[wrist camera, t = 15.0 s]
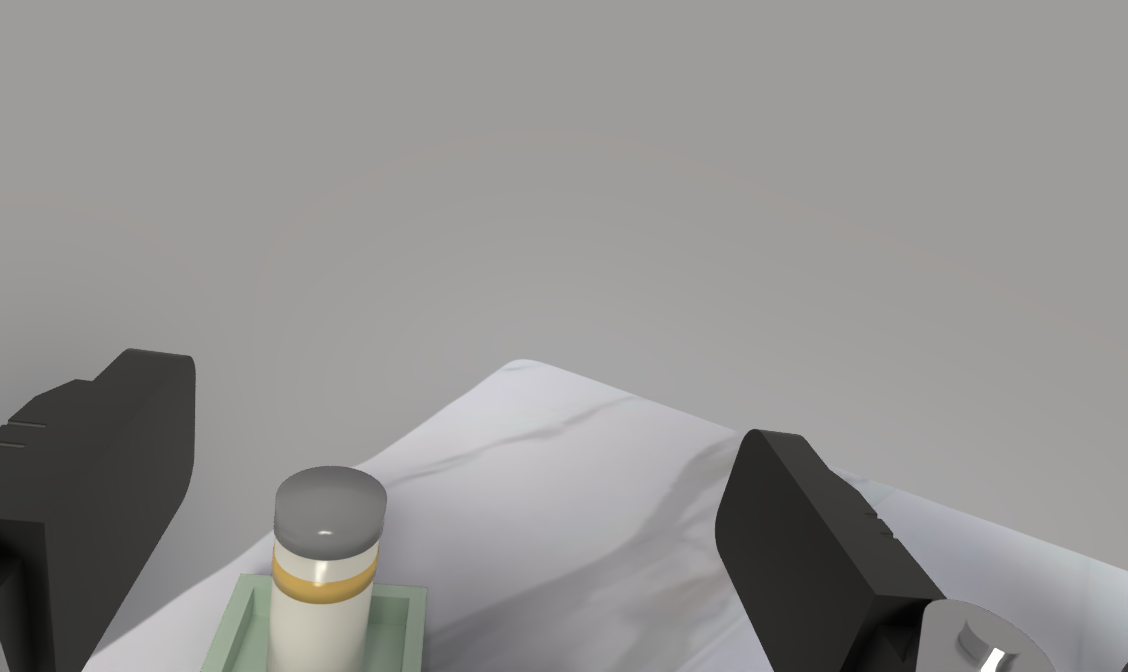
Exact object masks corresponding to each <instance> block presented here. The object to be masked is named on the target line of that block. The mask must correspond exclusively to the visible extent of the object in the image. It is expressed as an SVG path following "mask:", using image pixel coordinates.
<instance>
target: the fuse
mask: <svg viewBox="0 0 1128 672" xmlns="http://www.w3.org/2000/svg"><path fill="white" fill-rule="evenodd" d="M386 503H387V495H386V491H385V489H384V487H383V486H382V485H381V483H380V482H379V481H378V480H376V479H375V478H374V477H372V476H371V475H369V474H367V473H365V472H362V471H359V470H356V469H352V468H348V467H340V466H323V467H315V468H310V469H307V470H304V471H301V472H298V473H296V474H294V475H292V476H290V477H289V478H288V479H286V480H285V481H284V482H283V483H282V484H281V485H280V487H279V489H278V491H277V493H276V502H275V516H274V534H275V543H274V547H273V560H272V590H271V604H270V618H269V631H268V645H267V659H266V672H361V667H362V660H363V652H364V645H365V638H366V631H367V624H368V616H369V609H370V602H371V595H372V588H373V580H374V576H375V573H376V567H377V559H378V552H379V545H378V544H379V538H380V536H381V534H382V531H383V524H384V517H385V510H386Z"/></svg>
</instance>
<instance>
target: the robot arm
mask: <svg viewBox="0 0 1128 672" xmlns="http://www.w3.org/2000/svg"><path fill="white" fill-rule="evenodd" d="M195 375H196V373H195V364H194V361H193V359H192V357H190V356H186V355H179V354H171V353H163V352H155V351H147V350H139V349H127V350H125V351H124V352H122V354H120V355H119V356H118V357H117V358H116V359H115V360H114V361H113V362H112V363H111V364H110V365H109V366H108V367H107V368H106V369H105V370H104V371H103V372H102V373H101V374H100V375H99V376H97V377H96V378H95V380H93V381H86V380H77V379H75V380H73V381H70V382H68V383H66V384H63V385H61V386H59V387H56V388H54V389H52V390H49V391H47V392H45V393H42V394H40V395H38V396H35V397H34V398H33V399H32V400H31V401H29V402H28V403H27V404H26V405H25V406H24V407H23V408H21V409H20V410H19V411H18V412H17V413H16V414H15V415H13V416H12V417H11V418H10V419H9V420H8V424H7V425H2V426H1V427H0V672H81V671H82V670H83V668H84V666H85V665H86V663H87V661H88V660H89V658H90V656H91V655H92V653H93V651H94V650H95V648H96V646H97V644H98V643H99V641H100V639H101V638H102V636H103V634H104V633H105V631H106V629H107V628H108V626H109V624H110V623H111V621H112V619H113V618H114V616H115V614H116V613H117V611H118V609H119V608H120V606H121V604H122V602H123V601H124V599H125V597H126V595H127V594H128V592H129V591H130V589H131V587H132V586H133V584H134V582H135V581H136V579H137V577H138V576H139V574H140V572H141V570H142V569H143V567H144V565H145V564H146V562H147V561H148V559H149V557H150V555H151V554H152V552H153V550H154V549H155V547H156V545H157V544H158V542H159V540H160V539H161V537H162V535H163V534H164V532H165V530H166V529H167V527H168V525H169V524H170V522H171V520H172V518H173V517H174V515H175V514H176V512H177V510H178V508H179V507H180V505H181V503H182V501H183V499H184V497H185V495H186V492H187V490H188V486H189V483H190V479H191V475H192V470H193V464H194V441H195V381H196V376H195ZM877 515H878V514H877V513H876V512H875V511H874V509H873V508H872V507H871V506H870V505H869V503H868V502H867V501H866V500H865V499H864V497H863V496H862V495H861V494H860V492H859V491H858V490H856V489H855V488H854V487H852V486H851V485H850V484H848V483H847V482H846V481H844V480H843V479H842V478H840V477H839V476H838V475H836V474H835V473H834V472H832V471H831V470H829V468H828V467H827V466H826V465H825V463H824V462H823V461H822V460H821V459H820V457H819V456H818V455H817V453H816V452H815V451H814V450H813V448H812V447H811V446H810V445H809V443H808V442H807V441H806V440H805V439H804V438H803V437H802V436H801V435H797V434H790V433H781V432H774V431H766V430H758V429H753V430H750V431H749V432H748V433H747V434H746V435H745V437H744V438H743V440H742V443H741V445H740V448H739V451H738V454H737V457H736V460H735V463H734V465H733V468H732V471H731V474H730V477H729V480H728V483H727V486H726V488H725V491H724V494H723V497H722V500H721V503H720V506H719V509H718V512H717V516H716V523H715V539H716V545H717V549H718V552H719V555H720V557H721V559H722V561H723V563H724V565H725V568H726V570H727V572H728V574H729V576H730V578H731V580H732V583H733V585H734V587H735V589H736V591H737V593H738V595H739V598H740V600H741V602H742V604H743V606H744V608H745V610H746V613H747V615H748V617H749V619H750V621H751V623H752V625H753V628H754V630H755V632H756V634H757V636H758V638H759V640H760V643H761V645H762V647H763V649H764V651H765V653H766V655H767V658H768V660H769V662H770V664H771V666H772V668H773V670H774V672H1056V671H1055V669H1054V667H1053V665H1052V663H1051V662H1050V660H1049V659H1048V657H1047V656H1046V654H1045V653H1044V652H1043V651H1042V650H1041V649H1040V647H1039V646H1038V645H1037V644H1036V643H1035V642H1034V641H1033V640H1031V639H1030V638H1029V637H1028V636H1027V635H1026V634H1024V633H1023V632H1022V631H1021V630H1019V629H1018V628H1017V627H1015V626H1014V625H1012V624H1011V623H1009V622H1008V621H1006V620H1005V619H1003V618H1001V617H1000V616H998V615H996V614H994V613H992V612H990V611H988V610H986V609H983V608H981V607H978V606H976V605H973V604H970V603H967V602H962V601H958V600H950V599H947V598H946V597H945V596H944V594H943V593H942V592H941V591H940V590H939V588H938V587H937V586H936V585H935V583H934V582H933V581H932V580H931V579H930V577H929V576H928V575H927V574H926V573H925V571H924V570H923V569H922V568H921V567H920V565H919V564H918V563H917V562H916V560H915V559H914V558H913V557H912V556H911V554H910V553H909V552H908V551H907V550H906V548H905V547H904V546H903V545H902V543H901V542H900V541H899V540H898V539H895V538H893V533H892V531H891V530H890V529H889V528H888V526H887V525H886V524H885V523H884V522H883V520H882V519H877ZM1121 672H1128V663H1127V664H1126V665H1125V667H1124V668H1123V670H1122V671H1121Z"/></svg>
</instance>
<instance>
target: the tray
mask: <svg viewBox="0 0 1128 672" xmlns="http://www.w3.org/2000/svg"><path fill="white" fill-rule="evenodd" d="M271 590H272V576H267V575H254V574H240V576H239V579H238V581H237V584H236V586H235V588H234V591H233V593H232V596H231V598H230V601H229V603H228V605H227V608H226V610H225V613H224V615H223V618H222V620H221V622H220V625H219V627H218V630H217V632H216V634H215V637H214V639H213V642H212V644H211V647H210V649H209V651H208V654H207V656H206V659H205V661H204V664H203V666H202V668H201V671H200V672H266V659H267V645H268V631H269V618H270V604H271ZM426 595H427V588H425V587H412V586H399V585H386V584H373V588H372V595H371V602H370V609H369V616H368V624H367V631H366V638H365V645H364V652H363V660H362V667H361V672H421V663H422V649H423V636H424V622H425V609H426Z"/></svg>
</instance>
